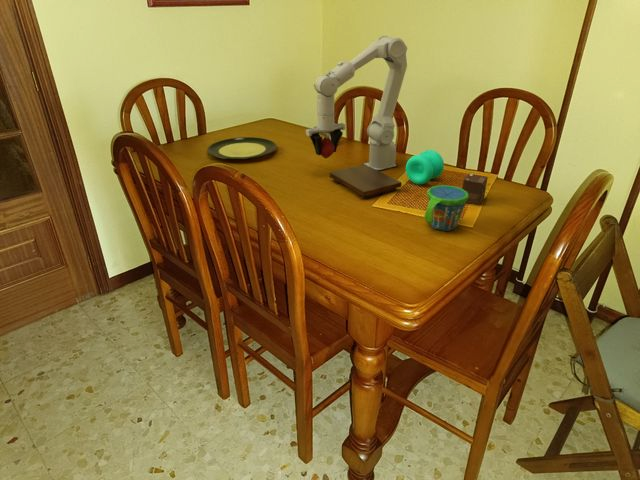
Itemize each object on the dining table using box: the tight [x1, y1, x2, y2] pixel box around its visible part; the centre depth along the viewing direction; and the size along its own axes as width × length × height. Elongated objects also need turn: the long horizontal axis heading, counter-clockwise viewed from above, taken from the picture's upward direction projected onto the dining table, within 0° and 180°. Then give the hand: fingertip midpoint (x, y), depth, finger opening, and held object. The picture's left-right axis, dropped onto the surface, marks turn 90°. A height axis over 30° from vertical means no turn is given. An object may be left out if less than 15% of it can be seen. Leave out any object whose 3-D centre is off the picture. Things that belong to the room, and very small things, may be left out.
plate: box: [206, 136, 278, 161], centre depth 182 cm, size 28×28×2 cm
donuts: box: [405, 149, 445, 185], centre depth 152 cm, size 10×10×10 cm
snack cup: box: [423, 184, 469, 232], centre depth 123 cm, size 16×10×10 cm
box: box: [461, 173, 489, 206], centre depth 138 cm, size 6×6×7 cm
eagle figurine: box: [320, 132, 331, 140], centre depth 192 cm, size 8×7×9 cm
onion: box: [320, 135, 335, 160], centre depth 156 cm, size 6×6×8 cm
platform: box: [329, 164, 402, 199], centre depth 151 cm, size 15×20×3 cm
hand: (326, 152), depth 157 cm, fingers closed on onion, 6 cm apart
